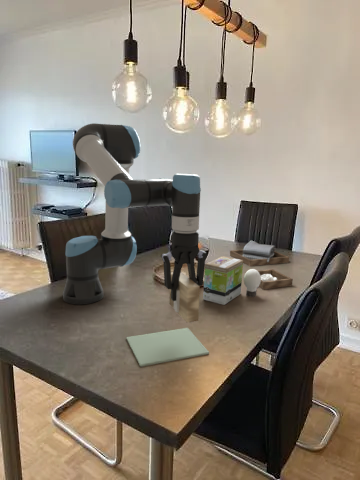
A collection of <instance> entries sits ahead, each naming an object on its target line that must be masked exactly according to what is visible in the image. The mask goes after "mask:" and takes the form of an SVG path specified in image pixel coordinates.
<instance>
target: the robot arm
mask: <svg viewBox="0 0 360 480" xmlns="http://www.w3.org/2000/svg"><path fill="white" fill-rule="evenodd" d="M73 136H74V137H73V139H72V146H73V152H74V154H75V155H76V156H77V158H79V160H80V161H82V162H84V163H86V164H87V165H88V167H89V168H90V170H92V172H93V173H94V174H95V175H96V177H97V178H98V180H99V181H100V182H101V183H102V185H103V186H104V190H103V192H104V193H103V194H104V199H105V208H104V209H105V210H104V211H105V212H104V213H105V224H104V227H105V228H104V229H103V231H102V232H101V233H100V234H101V235H100V236H101V237H100V238H97V236H95V235H81V236H78V237H76V236H75V237H74V238H71V239H70V240H68V241H67V242H66V244H65V252H64V253H65V263H66V264H65V265H66V266H65V267H66V282H65V286H64V288H63V292H62V300H63V301H64V303H68V304H71V305H89V304H94V303H97V302H99V301H101V300H102V299H103V298H104V289H103V287H102V283H101V281H100V278H99V271H100V270H104V269H110V268H118V267H119V268H120V267H124V266H129V265H131V264H132V263H133V262H134V261H135V259H136V256H137V253H138V252H137V250H138V249H137V248H138V247H137V241H136V239H135V237H134V236H132V233H131V231H130V230H129V229H128V227H129V226H128V225H129V208H139V207H159V206H169V207H171V210H172V211H171V229H172V232H171V247H170V249H169V251H168V252H167V253H162V254H161V255H160V257H161V259H162V261H163V278H164V279H163V280H164V282H163V283H164V287H166V289H168V290H170V289H171V299H172V300H173V301H174V308H173V310H174V311H175V313H177V314H178V312H179V301H180V291H179V290H178V289H177V288H178V283H179V278H180V273H181V272H182V268H183V265H184V264H186V265H187V271H188V273H187V274H188V278H190V279H191V280H192V281H193V282H195V283H196V284H197V285H198V286H200V287H201V286H204V274H205V264H206V260H207V258H208V252H207V251H204V250H200V247H199V235H200V233H199V230H200V211H201V210H200V207H201V191H202V189H201V177H200V175H199V174H196V173H195V174H191V173H175V174H174V175H173V176H172V179H170V178H165V177H163V178H160V177H159V178H156V179H133V177H132V176H131V175H130V168H131V167H132V166H133V165H134V160H135V159H137V158H138V157H139V156H140V153H141V141H140V137H139V134H138V133H137V130H136V129H135V127H132V126H130V125H123V124H110V123H109V124H106V123H97V122H95V123H87V124H86V125H84V126H82V127H80V128H79V129H78V130H77V131H76V133H75V134H74V135H73ZM196 257H197V263H196V264H195V259H196ZM172 258H173V259H174V263H173V264H174V266H173V271H172V272H173V275H172V281H171V269H172V268H171V267H172V266H171V260H172ZM195 266H196V268H195Z"/></svg>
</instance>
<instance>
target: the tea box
mask: <svg viewBox="0 0 360 480" xmlns="http://www.w3.org/2000/svg"><path fill="white" fill-rule="evenodd" d="M243 270H244V263H243V260H240V259H235V258H233V257H228V256H222V255H221V256H220V257H217V258H215V259H213V260H210V261H209V262H207V263H206V262H205V268H204V278H203V292H202V299H203V300H204V301H207V302H210V303H211V302H212V303H214V304H219V305H223V306H224V305H226V304H228V303H229V302H231V301H232V300H234V299H235V298H236V297H238V296H240V295H241V294H242V280H243Z"/></svg>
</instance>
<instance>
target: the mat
mask: <svg viewBox="0 0 360 480" xmlns="http://www.w3.org/2000/svg"><path fill="white" fill-rule="evenodd" d="M125 338H126V339H125V340H126V341H127V343H128V345H129V347H130V349H131V351H132V353H133V355H134V357H135V359H136V361H137V362H138V365H139V367H147V366H151V365H155V364H156V365H157V364H163V363H168V362H173V361H178V360H179V361H180V360H183V359H184V360H185V359H188V358H194V357H201V356H205V355H209V354H210V351H209V350H208V349H207V348H206V347H205V346H204V344H202V342H201V341H200V340H199V338H198V337H196V335H195V334H194V333H193V332H192V330H191V329H190V328H189V327H183V328H177V329H171V330H165V331H158V332H153V333H152V332H151V333H150V332H149V333H145V334H139V335H132V336H127V337H125Z"/></svg>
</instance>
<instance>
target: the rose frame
mask: <svg viewBox="0 0 360 480" xmlns="http://www.w3.org/2000/svg"><path fill="white" fill-rule="evenodd" d="M257 271H258V272H259V274H260V276H261V275H263V274H271V275H272V276H273V278H274V277H276V278H277V280H273V281H262V280H261V283H260V285H259V287H258V288H260V289H262V290H265V289H266V290H267V289H277V288H282V287H283V288H284V287H292V286H293V278H291V277H289V276H287V275H286V274H283V273H281V272H279V271H277V270H275V269H272V268H270V269H260V270H257ZM246 272H247V271H245V272H244V274H245V273H246Z"/></svg>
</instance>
